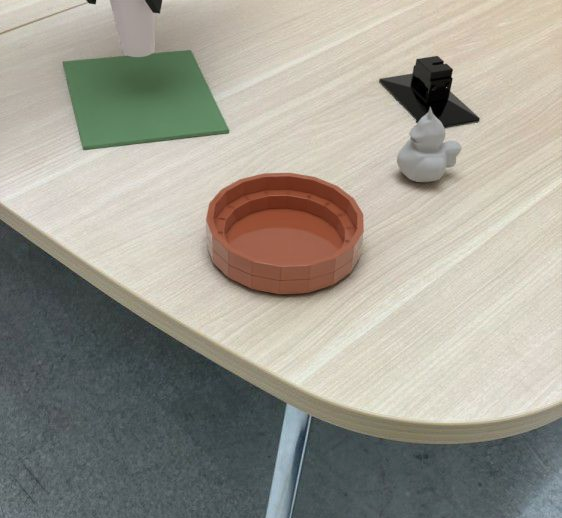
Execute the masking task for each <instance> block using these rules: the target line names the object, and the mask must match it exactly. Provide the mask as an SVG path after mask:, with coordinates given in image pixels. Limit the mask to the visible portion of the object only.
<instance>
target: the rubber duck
mask: <svg viewBox="0 0 562 518" xmlns="http://www.w3.org/2000/svg"><path fill="white" fill-rule="evenodd" d="M408 135H409V137H410V139H408V140H407V141H406V142H405V144H404V145H403V146H402V147H401V148H400V150H399V151H398V152H397V156H396V163H397V166H398V168H399V170H400V171H401V173H402V174H403V175H404V176H405V177H406V178H407V179H409V180H410V181H413V182H416V183H431V182H434V181H439V180H441V179H442V177H443V176H444V174H445V171H446V169H451V168H453V167H455V165H456V163H457V157H458V156H459V154H460V153H461V151H462V145H461V144H460V142H458V141H457V140H447V141H445V139H446V135H447V133H446V128H444V126H443V124H442V123H441V121H440V120H439V119H437V118H436V117H435V115H434V114H433V113H432V110H431V107H430V109H429V112H428V113H427V114H426V115H424V116H423V117H422V118H421V119H420V120H419V122H418V123H417V122H416V123H415V125H414V126H413V127H412V128H411V129H410V130H409V132H408Z"/></svg>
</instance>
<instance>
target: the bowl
mask: <svg viewBox="0 0 562 518" xmlns="http://www.w3.org/2000/svg"><path fill="white" fill-rule="evenodd" d="M364 223H365V222H364V213H363V211H362V209H361V208H360V206H359V205H358V203H357V201H356V200H355V198H354V197H353V196H352V195H350V194H349V193H347V192H346V191H345V190H344V189H342V188H341V187H340V186H338V185H336V184H335V183H332V182H329V181H326V180H324V179H321V178H319V177H316V176H312V175H306V174H300V173H294V172H266V173H265V172H263V173H259V174H256V175H251V176H246V177H242V178H239V179H238V180H236V181H234V182H232V183H230V184H229V185H227V186H224V187H223V188H222V189H220V190H219V191H218V193H216V195H215V196H214V197H213V198H212V200H211V201H210V202H209V203H208V207H207V212H206V217H205V230H206V233H205V234H206V247H207V252H208V253H209V256H210V258H211V261H212V263H213V265H214V266H215V267H217V269H219V270H220V271H221V272H222V273H223V275H225V276H226V277H227V278H228V279H230V280H231V281H235V282H237V283H239V284H241V285H242V286H244V287H247V288H249V289H252V290H255V291H261V292H266V293H271V294H277V295H291V294H292V295H295V294H308V293H312V292H315V291H318V290H322V289H324V288H328V287H332V286H334V285H335V284H338V282H340V281H341V280H342V279H344V278H345V277H347V276H348V275H350V274H351V273H352V271H353V270H354V268H355V267H356V264H357V263H358V261H359V259H360V257H361V251H362V245H363V239H364V232H365V226H364Z"/></svg>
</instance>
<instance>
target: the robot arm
mask: <svg viewBox="0 0 562 518" xmlns="http://www.w3.org/2000/svg"><path fill="white" fill-rule="evenodd" d="M85 1H86V2H87V3H88V4H90V5H96V4H97V0H85ZM145 2H146V3H147V5H148V6H149V8H150V9H151V10H152V12H153V13H156V14H159V15H160V14H161V10H162V4H163V0H145Z"/></svg>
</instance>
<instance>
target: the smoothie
mask: <svg viewBox="0 0 562 518" xmlns="http://www.w3.org/2000/svg"><path fill="white" fill-rule="evenodd" d="M109 3H110V7H111V11H112V17H113V20H114V24H115V29H116V33H117V37H118V41H119V45H120V46H119V47H120V50H121V52H122V54H124V56H131V57H144V56H148V55H151V54H152V53H155V51H156V32H157V31H156V30H157V13H153V12H152V10H151V9H150V8H149V6H148V5H147V3H146V2H145V0H109Z"/></svg>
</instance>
